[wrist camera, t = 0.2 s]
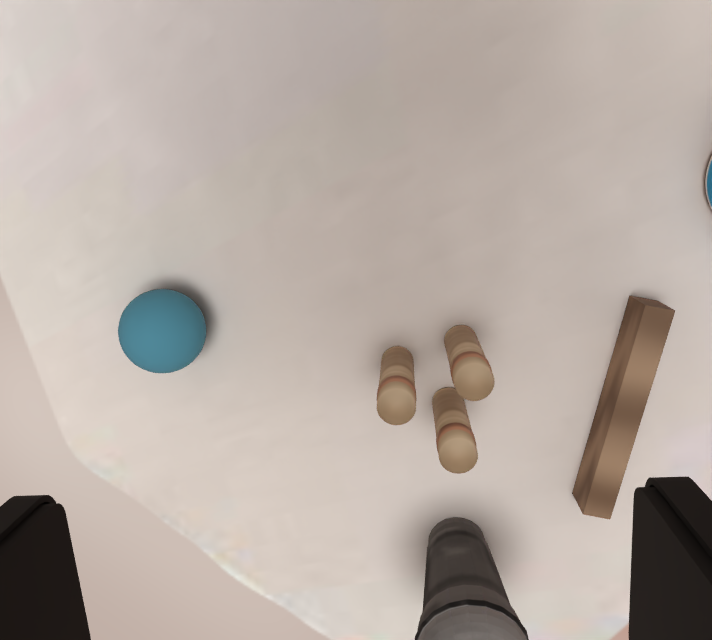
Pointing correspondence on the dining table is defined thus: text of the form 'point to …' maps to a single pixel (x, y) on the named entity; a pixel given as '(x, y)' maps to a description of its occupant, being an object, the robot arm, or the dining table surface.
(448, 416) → the pin
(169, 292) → the ball
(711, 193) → the beverage bottle
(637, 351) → the back rail
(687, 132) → the dining table surface
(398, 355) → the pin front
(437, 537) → the beverage cup
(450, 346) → the pin
